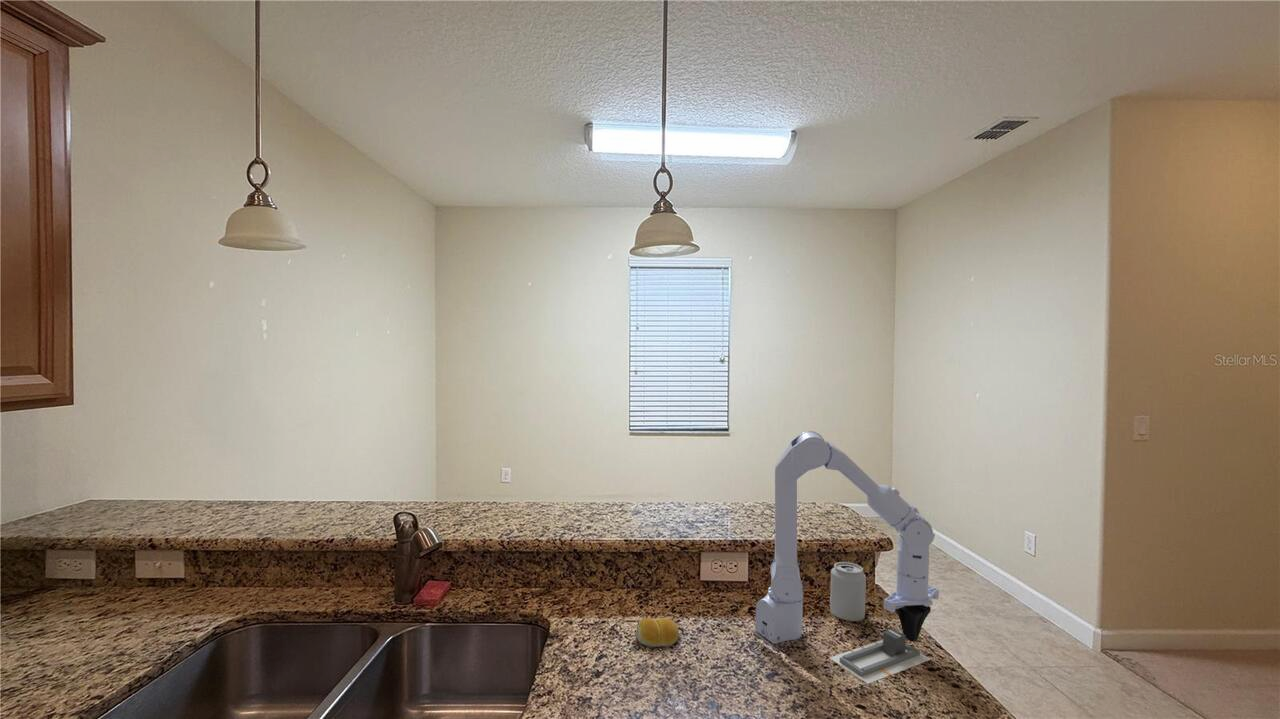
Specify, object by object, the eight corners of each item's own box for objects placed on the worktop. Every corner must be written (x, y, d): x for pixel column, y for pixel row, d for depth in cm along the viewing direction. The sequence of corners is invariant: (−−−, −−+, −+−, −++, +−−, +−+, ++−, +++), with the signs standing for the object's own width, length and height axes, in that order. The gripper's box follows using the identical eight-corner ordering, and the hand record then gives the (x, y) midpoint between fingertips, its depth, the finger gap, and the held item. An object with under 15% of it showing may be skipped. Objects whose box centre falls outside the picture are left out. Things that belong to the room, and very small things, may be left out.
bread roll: (682, 647, 109) (683, 627, 109) (639, 650, 108) (640, 630, 108) (673, 626, 117) (674, 608, 117) (633, 629, 116) (634, 611, 116)
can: (858, 611, 126) (860, 560, 126) (869, 627, 119) (870, 574, 118) (826, 609, 127) (827, 559, 127) (834, 625, 119) (836, 571, 119)
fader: (895, 659, 104) (895, 638, 104) (882, 651, 107) (883, 631, 107) (905, 655, 106) (905, 634, 106) (892, 648, 108) (893, 628, 108)
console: (867, 690, 96) (867, 678, 96) (829, 663, 104) (829, 652, 104) (931, 665, 104) (931, 654, 104) (890, 642, 112) (891, 632, 112)
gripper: (906, 587, 101) (904, 657, 102) (953, 574, 108) (951, 640, 108) (875, 573, 108) (873, 639, 108) (921, 561, 114) (919, 624, 115)
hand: (910, 638), depth 108 cm, fingers closed
